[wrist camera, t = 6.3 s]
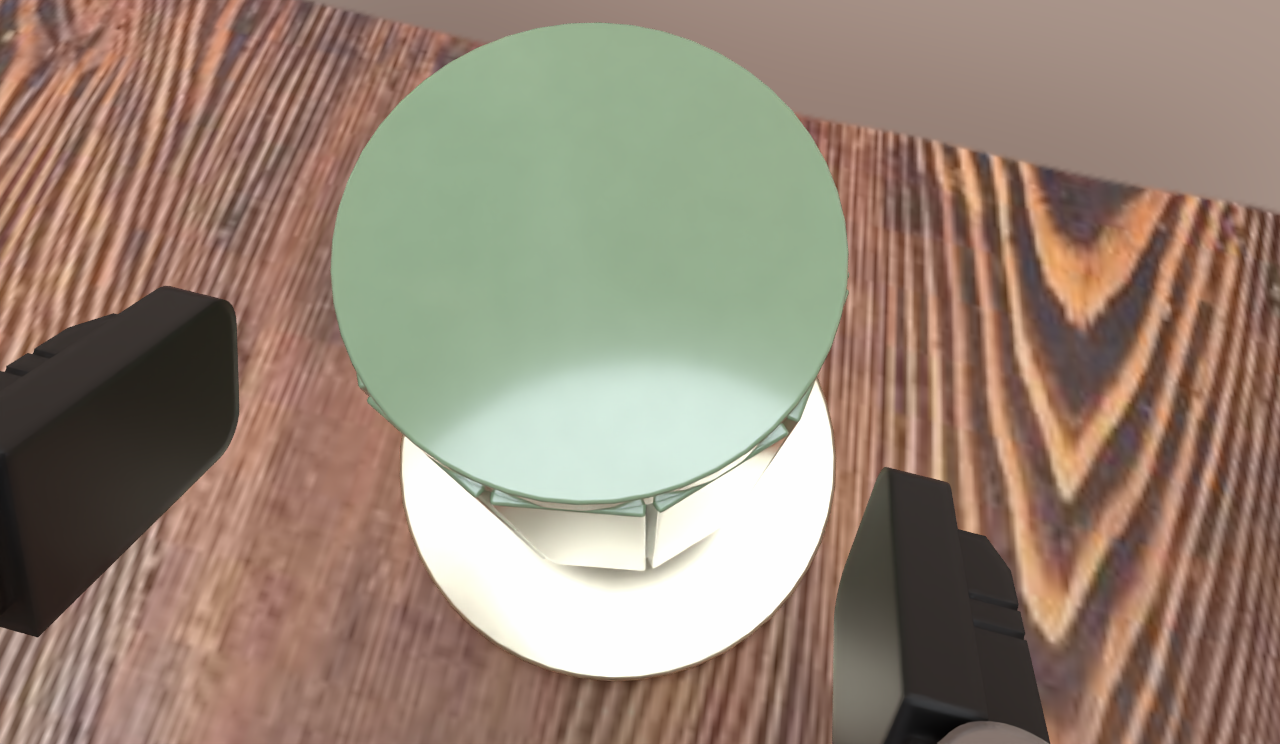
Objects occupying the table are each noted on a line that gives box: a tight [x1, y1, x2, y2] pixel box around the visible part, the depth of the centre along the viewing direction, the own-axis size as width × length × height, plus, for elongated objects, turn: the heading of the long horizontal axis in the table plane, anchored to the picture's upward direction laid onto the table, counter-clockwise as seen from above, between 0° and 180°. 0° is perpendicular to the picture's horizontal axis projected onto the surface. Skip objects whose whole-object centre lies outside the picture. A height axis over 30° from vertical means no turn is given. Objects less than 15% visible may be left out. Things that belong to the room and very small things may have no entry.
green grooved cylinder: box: [331, 23, 849, 571], centre depth 16 cm, size 6×7×9 cm
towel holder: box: [399, 377, 836, 681], centre depth 19 cm, size 11×11×14 cm
